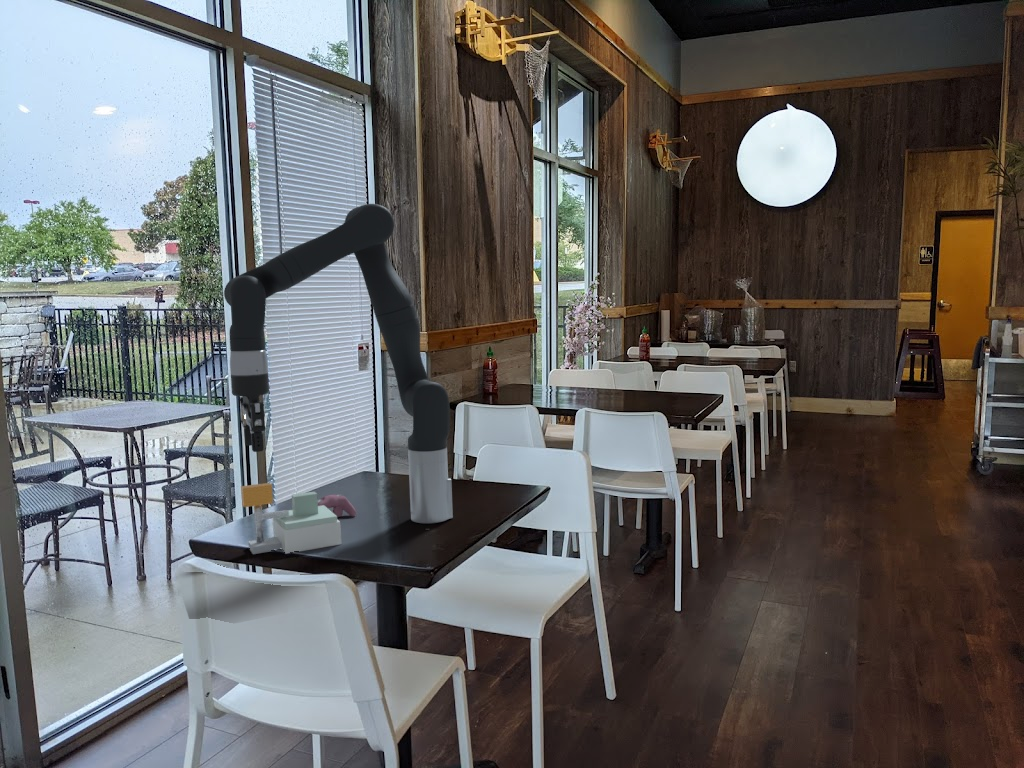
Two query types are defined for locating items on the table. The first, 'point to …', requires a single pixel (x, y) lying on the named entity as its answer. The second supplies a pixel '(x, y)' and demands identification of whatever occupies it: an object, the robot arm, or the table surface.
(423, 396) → the robot arm
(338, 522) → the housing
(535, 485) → the table surface
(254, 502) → the t key
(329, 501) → the pink animal figurine
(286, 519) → the cover
